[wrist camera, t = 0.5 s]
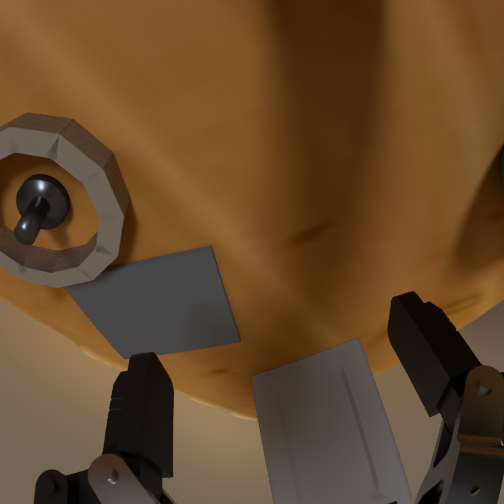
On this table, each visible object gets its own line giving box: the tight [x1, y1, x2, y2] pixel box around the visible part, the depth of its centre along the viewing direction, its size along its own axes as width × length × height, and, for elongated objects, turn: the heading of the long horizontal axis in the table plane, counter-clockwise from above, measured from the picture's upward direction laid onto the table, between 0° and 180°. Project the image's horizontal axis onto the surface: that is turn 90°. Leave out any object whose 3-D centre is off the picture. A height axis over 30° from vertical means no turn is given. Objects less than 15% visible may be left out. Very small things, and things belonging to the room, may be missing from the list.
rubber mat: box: [64, 246, 241, 359], centre depth 36 cm, size 17×17×1 cm
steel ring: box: [0, 113, 130, 288], centre depth 23 cm, size 16×16×3 cm
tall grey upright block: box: [251, 338, 413, 504], centre depth 45 cm, size 19×15×28 cm
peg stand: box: [14, 174, 70, 245], centre depth 22 cm, size 5×5×5 cm
